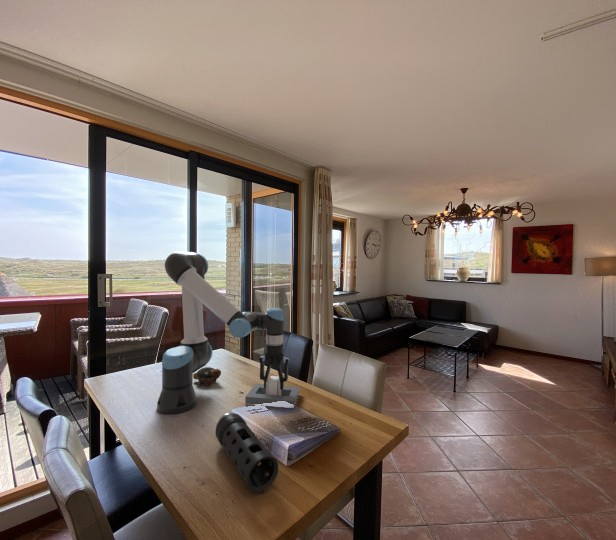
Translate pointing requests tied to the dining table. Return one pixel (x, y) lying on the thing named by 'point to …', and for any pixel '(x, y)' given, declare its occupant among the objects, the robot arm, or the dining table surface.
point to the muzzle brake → (246, 452)
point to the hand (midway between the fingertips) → (273, 395)
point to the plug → (273, 385)
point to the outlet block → (260, 396)
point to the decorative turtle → (207, 375)
